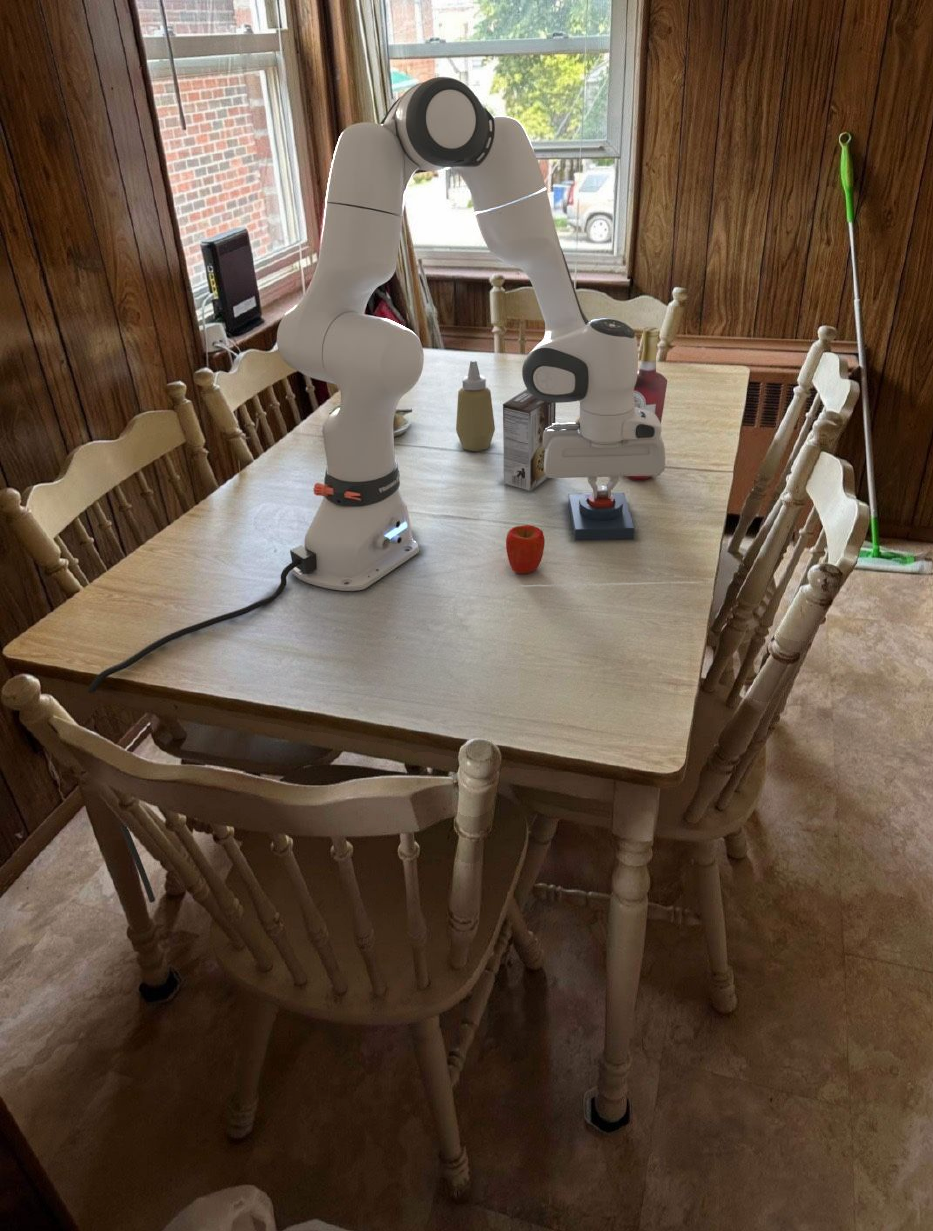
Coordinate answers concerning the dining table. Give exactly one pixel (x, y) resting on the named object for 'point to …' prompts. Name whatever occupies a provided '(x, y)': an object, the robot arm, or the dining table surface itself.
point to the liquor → (649, 381)
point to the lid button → (600, 502)
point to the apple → (525, 548)
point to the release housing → (600, 519)
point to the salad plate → (397, 421)
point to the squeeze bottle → (474, 411)
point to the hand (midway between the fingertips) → (601, 497)
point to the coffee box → (525, 439)
